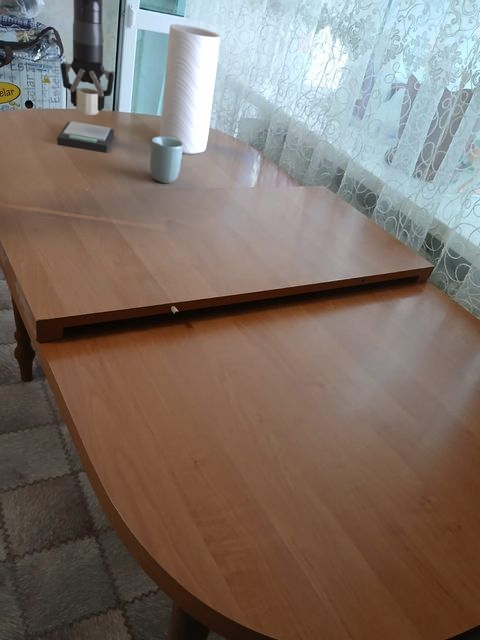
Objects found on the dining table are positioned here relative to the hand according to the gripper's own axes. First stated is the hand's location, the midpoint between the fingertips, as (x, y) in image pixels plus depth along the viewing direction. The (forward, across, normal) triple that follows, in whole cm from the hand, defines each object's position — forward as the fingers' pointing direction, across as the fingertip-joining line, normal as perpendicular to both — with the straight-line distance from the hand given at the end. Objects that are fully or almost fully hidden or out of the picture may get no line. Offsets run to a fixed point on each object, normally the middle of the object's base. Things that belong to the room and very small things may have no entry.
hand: (87, 107), depth 151 cm
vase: (+9, +27, +8) cm, 29 cm away
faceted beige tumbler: (+1, 0, 0) cm, 1 cm away
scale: (+9, 0, -1) cm, 9 cm away
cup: (+9, +23, -22) cm, 33 cm away
